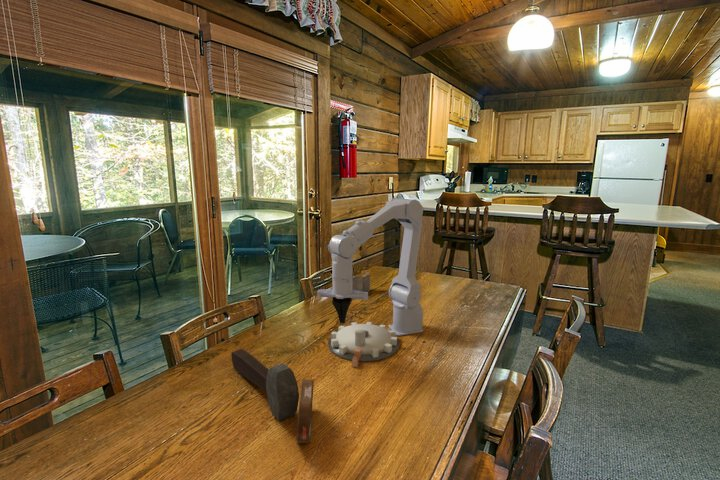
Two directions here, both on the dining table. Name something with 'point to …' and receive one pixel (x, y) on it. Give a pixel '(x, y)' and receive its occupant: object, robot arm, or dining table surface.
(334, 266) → the robot arm
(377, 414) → the dining table surface
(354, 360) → the wheel base
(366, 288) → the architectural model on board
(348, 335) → the sprocket wheel
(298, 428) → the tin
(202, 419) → the dining table surface
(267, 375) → the hammer
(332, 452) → the dining table surface
